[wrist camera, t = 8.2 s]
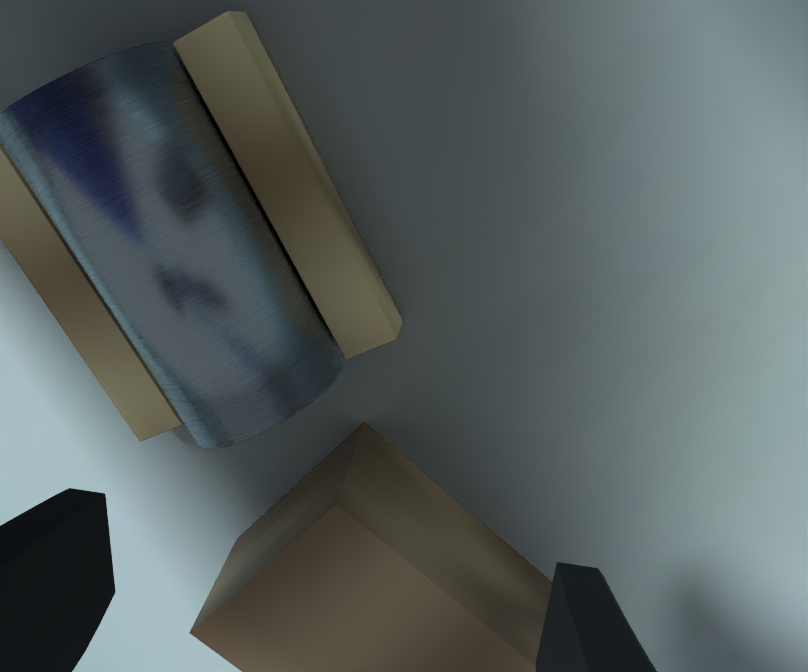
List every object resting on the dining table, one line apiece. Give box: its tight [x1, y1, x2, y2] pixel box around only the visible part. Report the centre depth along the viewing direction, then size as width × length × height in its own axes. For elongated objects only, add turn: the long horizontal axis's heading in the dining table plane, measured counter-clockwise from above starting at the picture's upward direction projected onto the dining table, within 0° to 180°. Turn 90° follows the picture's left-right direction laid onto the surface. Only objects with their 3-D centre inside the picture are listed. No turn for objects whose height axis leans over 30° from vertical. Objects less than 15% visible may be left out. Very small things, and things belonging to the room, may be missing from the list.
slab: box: [190, 422, 553, 672], centre depth 20 cm, size 12×6×4 cm, turn 47°
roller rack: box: [0, 11, 403, 441], centre depth 18 cm, size 8×8×1 cm
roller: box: [0, 42, 343, 449], centre depth 16 cm, size 8×4×4 cm, turn 26°
